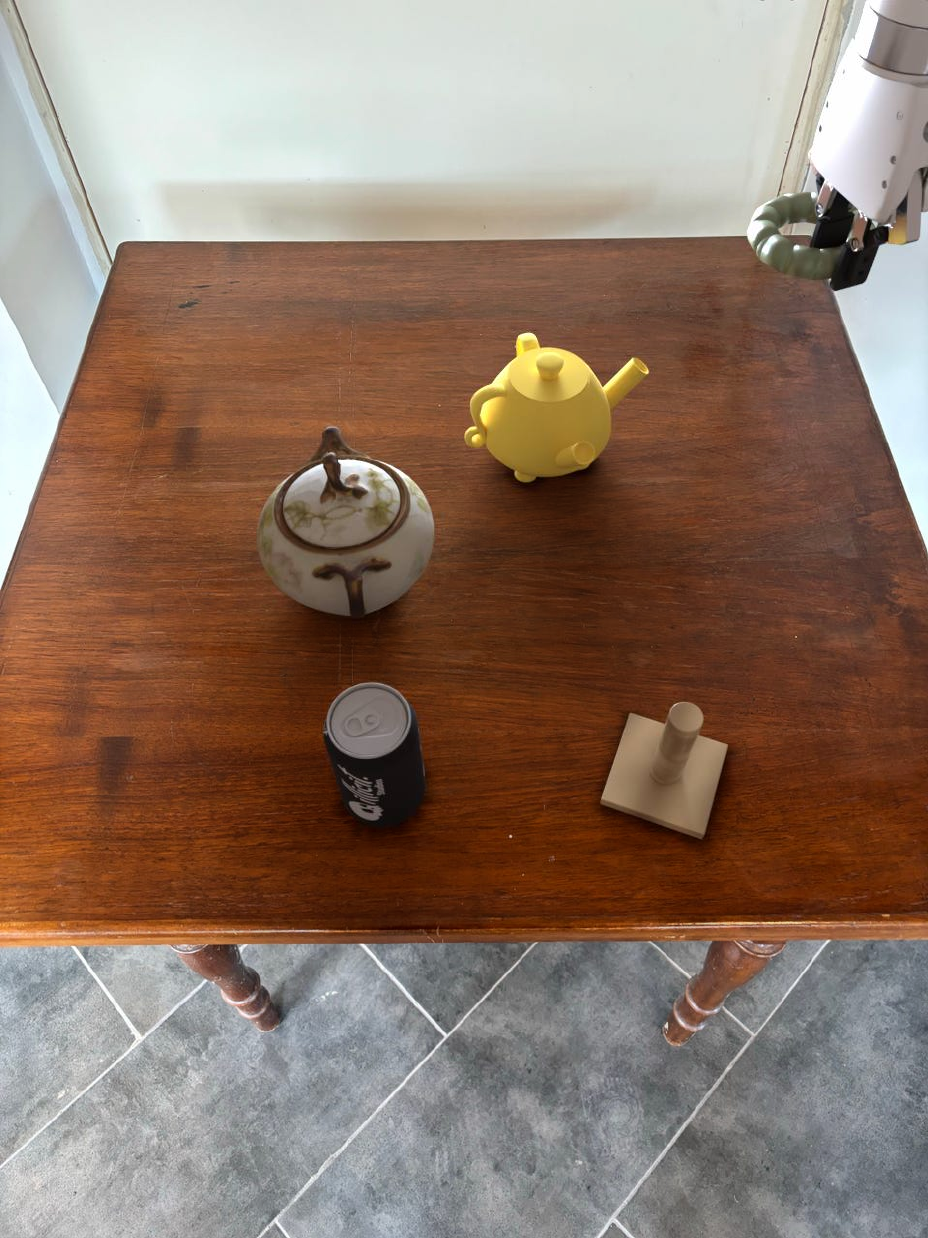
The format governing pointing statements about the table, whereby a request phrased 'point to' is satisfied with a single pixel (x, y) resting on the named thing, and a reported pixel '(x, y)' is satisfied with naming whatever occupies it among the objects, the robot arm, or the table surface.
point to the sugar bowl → (345, 531)
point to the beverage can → (376, 754)
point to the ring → (786, 252)
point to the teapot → (547, 411)
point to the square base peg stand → (666, 771)
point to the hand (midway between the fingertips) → (834, 271)
